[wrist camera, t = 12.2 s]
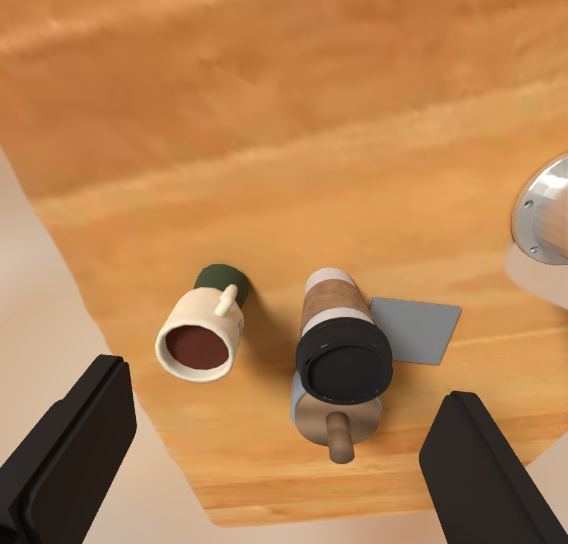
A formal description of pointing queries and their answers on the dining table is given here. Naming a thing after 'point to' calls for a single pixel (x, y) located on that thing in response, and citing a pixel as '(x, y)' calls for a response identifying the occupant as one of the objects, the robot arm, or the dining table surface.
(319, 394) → the coffee cup
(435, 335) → the mat
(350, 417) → the lid
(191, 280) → the dining table surface
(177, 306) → the character mug
